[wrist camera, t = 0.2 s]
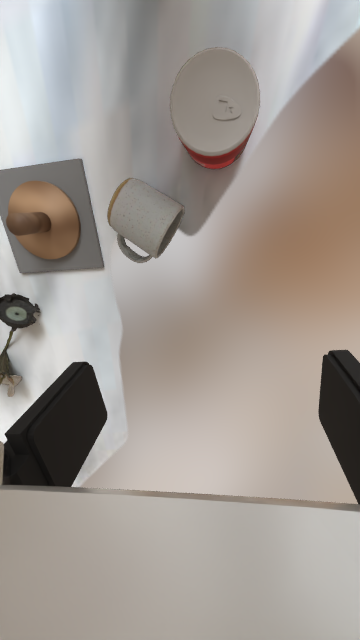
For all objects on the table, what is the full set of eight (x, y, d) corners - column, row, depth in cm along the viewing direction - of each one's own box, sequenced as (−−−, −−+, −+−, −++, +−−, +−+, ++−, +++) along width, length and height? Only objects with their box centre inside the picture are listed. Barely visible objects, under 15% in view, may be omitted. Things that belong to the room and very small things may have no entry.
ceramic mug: (137, 175, 36) (117, 170, 29) (189, 206, 36) (180, 208, 30) (110, 244, 40) (87, 253, 34) (156, 270, 41) (143, 284, 34)
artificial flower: (58, 310, 48) (35, 348, 40) (25, 375, 59) (3, 414, 52) (7, 286, 45) (-28, 323, 37) (-17, 360, 56) (-48, 400, 48)
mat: (-12, 172, 38) (-15, 172, 38) (81, 159, 36) (79, 158, 35) (22, 272, 44) (19, 273, 44) (104, 266, 42) (102, 267, 41)
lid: (2, 185, 38) (-38, 182, 32) (70, 176, 36) (40, 171, 31) (26, 260, 43) (-5, 269, 37) (88, 255, 41) (65, 264, 35)
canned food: (247, 166, 33) (258, 150, 24) (186, 172, 35) (172, 159, 25) (249, 92, 30) (263, 37, 21) (182, 101, 32) (165, 53, 22)
